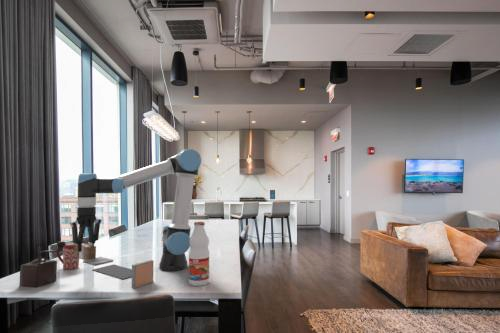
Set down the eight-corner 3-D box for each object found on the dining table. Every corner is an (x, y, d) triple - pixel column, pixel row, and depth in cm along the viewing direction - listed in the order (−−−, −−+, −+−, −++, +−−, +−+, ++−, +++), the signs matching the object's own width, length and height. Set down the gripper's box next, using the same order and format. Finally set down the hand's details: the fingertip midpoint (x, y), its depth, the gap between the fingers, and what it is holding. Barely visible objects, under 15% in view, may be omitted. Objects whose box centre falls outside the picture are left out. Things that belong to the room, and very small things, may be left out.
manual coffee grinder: (38, 287, 131) (40, 247, 132) (18, 286, 133) (20, 246, 134) (66, 276, 146) (68, 240, 147) (48, 275, 148) (49, 239, 149)
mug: (84, 265, 166) (84, 241, 167) (73, 270, 157) (74, 245, 157) (62, 265, 166) (63, 241, 167) (51, 270, 157) (51, 244, 158)
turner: (67, 258, 136) (68, 244, 136) (85, 254, 142) (85, 242, 143) (95, 266, 122) (95, 251, 123) (113, 261, 129) (113, 247, 129)
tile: (150, 281, 139) (150, 260, 139) (153, 282, 138) (153, 260, 138) (131, 287, 130) (132, 264, 131) (134, 288, 129) (134, 265, 130)
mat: (113, 265, 167) (113, 264, 167) (144, 273, 151) (144, 272, 151) (92, 270, 157) (92, 269, 157) (122, 279, 141) (122, 278, 141)
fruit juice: (212, 280, 139) (212, 221, 141) (204, 287, 130) (204, 224, 132) (194, 278, 142) (194, 220, 144) (185, 285, 133) (185, 223, 134)
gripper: (99, 205, 145) (98, 253, 143) (64, 207, 131) (62, 260, 130) (107, 205, 141) (106, 255, 139) (72, 208, 127) (70, 262, 126)
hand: (85, 257), depth 135 cm, fingers closed on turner, 3 cm apart
